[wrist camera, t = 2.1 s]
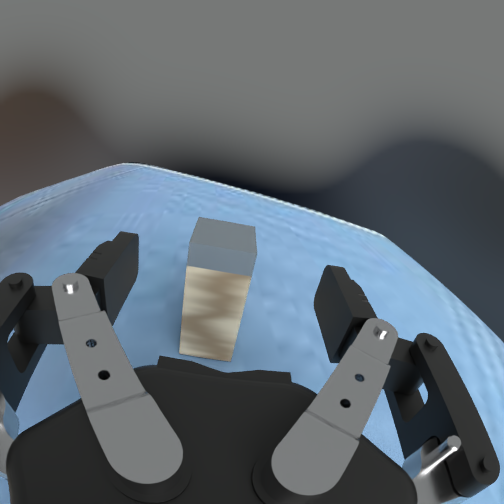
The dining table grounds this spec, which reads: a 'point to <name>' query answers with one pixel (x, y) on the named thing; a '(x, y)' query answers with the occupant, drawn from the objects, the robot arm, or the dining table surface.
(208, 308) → the maple block
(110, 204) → the dining table surface
